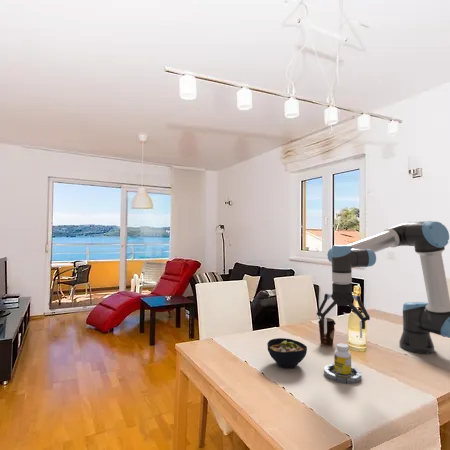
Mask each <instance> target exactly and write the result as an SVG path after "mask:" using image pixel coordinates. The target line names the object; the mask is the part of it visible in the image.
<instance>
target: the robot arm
mask: <svg viewBox="0 0 450 450" xmlns="http://www.w3.org/2000/svg"><path fill="white" fill-rule="evenodd" d="M449 240H450V233H449V229H448V228H447V226H445V225H444V224H443V223H442V222H440V221H436V220H435V221H433V220H425V221H408V222H402V223H400V224H397V225H394V226H392V227H389V228H386V229H384V230H383V232H381V233H378V234H376V235H375V234H374V235H373V236H369V237H366V238H364V239H360V240H358V241H355V242H353V243H349V244H334V245H332V247H331V248H329V250H328V252H327V255H326V256H327V260H328V261H329V262H330V263H331V279H332V280H331V281H332V287H331V288H332V293H331V294H330V293H327V292H325V294H324V296H323V301H322V303H321V304H320V307H319V308H318V310H317V312H316V315H317V316H319V317H320V318H321V324H322V325H324V334H326V333H327V318H328V317H327V314H328V313H330V311H332V309H333V308H334V307H335V306H336V305H337V306H339V307H341V306H343V307H350V309H352V311H353V312H354V313H355V314H356V316H357V317H358V318H359V339H363V330H365V329H366V321H370V320H371V319H370V318H371V317H370V314H369V312H368V311H367V309H366V308H365V305H364V304H363V302H362V300H361V299H362V298H361V295H360V294H357V295H353V290H352V289H353V287H352V286H353V285H352V281H353V277H352V276H353V275H352V273H353V272H352V269H353V268H369V267H373V266H374V265H375V264H376V263H377V254H376V253H377V252H380V251H382V250H385V249H387V248H388V249H389V248H397V247H404V246H405V247H408V246H409V247H414V250H415V251H414V252H415V253H416V254H418V255H419V258H420V263H421V264H420V265H421V269H422V276H423V281H424V286H425V287H424V288H425V292H426V296H427V297H426V298H427V302H424V301H423V302H422V301H408V302H404V303H403V305H402V333H401V336H400V339H399V347H400V348H401V349H403V350H406V351H408V352H412V353H416V354H433V353H435V346H434V342H433V339H432V337H431V333H432V334H435V335H438V336H441V337H442V338H448V339H450V294H449V288H448V283H447V276H446V271H445V265H444V260H443V256H442V254H443V252H444V251H445V250H446V249H445V247H446V246H447V245H448V244H449ZM330 298H331V299H332V303H331V304H330V305H329V306H328V307H327V308H326V309H325V310H323V309H324V307H325V305H326V303H327V301H328V300H330ZM353 300H355V302H357V305H359V308H360V310H361V311H362V313H363V314H362V313H361V312H360V311H359V309H358V308H357V307H356V305H354V303H353V302H352V301H353ZM322 311H323V312H322Z"/></svg>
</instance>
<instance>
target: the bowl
mask: <svg viewBox="0 0 450 450" xmlns="http://www.w3.org/2000/svg"><path fill="white" fill-rule="evenodd" d="M266 346H267V351H268V353H269V355H270V357H271V359H273V361H275V364H277V366H278V367H279V368H282V369H285V370H286V369H287V370H290V369H295V368H297V367H298V365H299V364H300V363H301V362H302V361H303V360H304V358H305V357H306V355H307V352H308V348H307V347H308V346H307V345H305V344H304V343H303V342H300V341H298V340H295V339H291V338H285V337H284V338H283V337H278V338H273V339H270V340H268V342H267V345H266Z"/></svg>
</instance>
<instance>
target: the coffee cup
mask: <svg viewBox="0 0 450 450" xmlns="http://www.w3.org/2000/svg"><path fill="white" fill-rule="evenodd" d="M317 323H318V328H319V341H320V345H321V346H324V347H325V346H326V347H331V346H333V345H334V337H335V325H336V321H335V320H334V319H333V318H330V317H327V333H326V334H324V325H322V324H321V317H320V318H319V320H318V321H317Z"/></svg>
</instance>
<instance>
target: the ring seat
mask: <svg viewBox="0 0 450 450" xmlns="http://www.w3.org/2000/svg"><path fill="white" fill-rule="evenodd" d="M323 375H324V376H325V377H326V378H327V379H328V380H330V381H333V382H336V383H338V384H339V383H340V384H345V385H346V384H347V385H352V384H358V383H360V382H361V381H362V371H361V370H360V369H358V368H357V367H354V366H352V365H351V375H350V376H349V377H343V376H338V375H337V374H335V371H334V363H330V364H327V365H325V366H324V368H323Z"/></svg>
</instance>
